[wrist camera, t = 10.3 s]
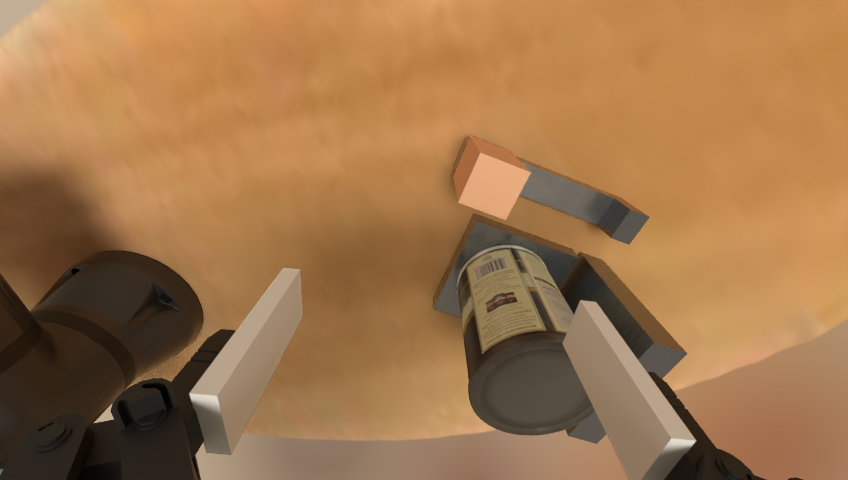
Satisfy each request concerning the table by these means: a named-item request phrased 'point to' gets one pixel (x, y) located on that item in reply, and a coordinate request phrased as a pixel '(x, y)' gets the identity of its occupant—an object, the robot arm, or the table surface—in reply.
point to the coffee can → (518, 344)
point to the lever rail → (580, 201)
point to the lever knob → (489, 178)
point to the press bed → (571, 299)
